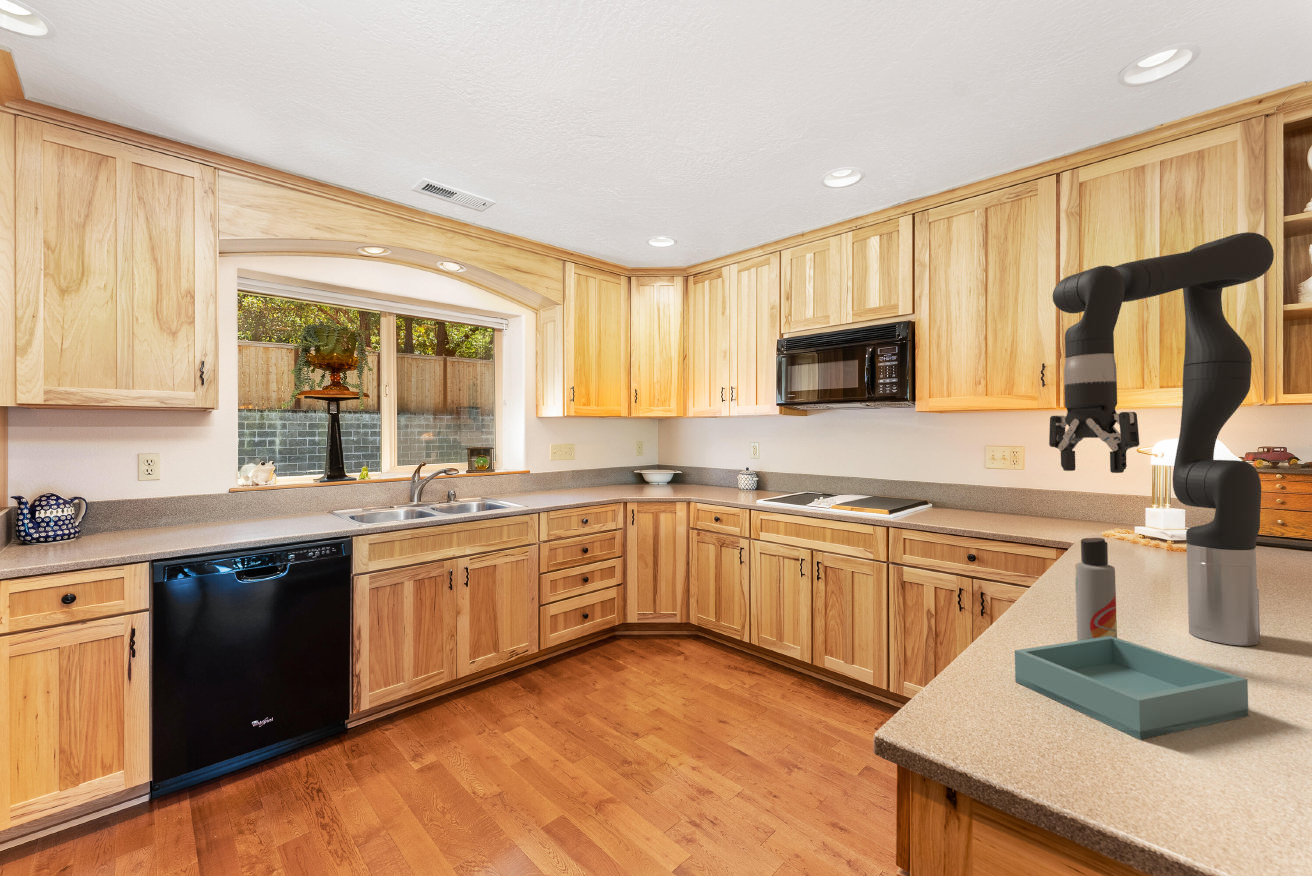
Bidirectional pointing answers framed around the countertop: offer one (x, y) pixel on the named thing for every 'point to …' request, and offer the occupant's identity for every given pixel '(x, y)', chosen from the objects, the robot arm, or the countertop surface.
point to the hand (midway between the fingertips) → (1092, 471)
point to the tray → (1132, 685)
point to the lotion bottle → (1095, 591)
